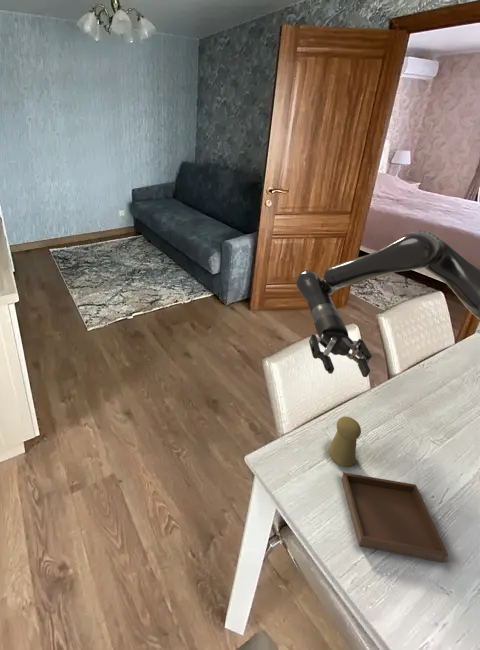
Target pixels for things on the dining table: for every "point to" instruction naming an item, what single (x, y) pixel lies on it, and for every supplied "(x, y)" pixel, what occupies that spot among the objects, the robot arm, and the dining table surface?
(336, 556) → the dining table surface
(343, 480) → the tray
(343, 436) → the cork
